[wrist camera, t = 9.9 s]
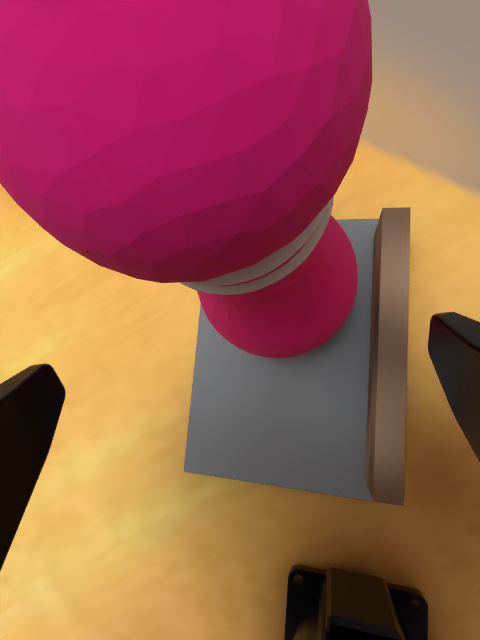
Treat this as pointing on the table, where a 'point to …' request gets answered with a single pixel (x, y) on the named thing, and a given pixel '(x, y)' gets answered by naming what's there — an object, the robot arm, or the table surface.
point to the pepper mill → (195, 148)
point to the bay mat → (288, 402)
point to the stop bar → (388, 358)
